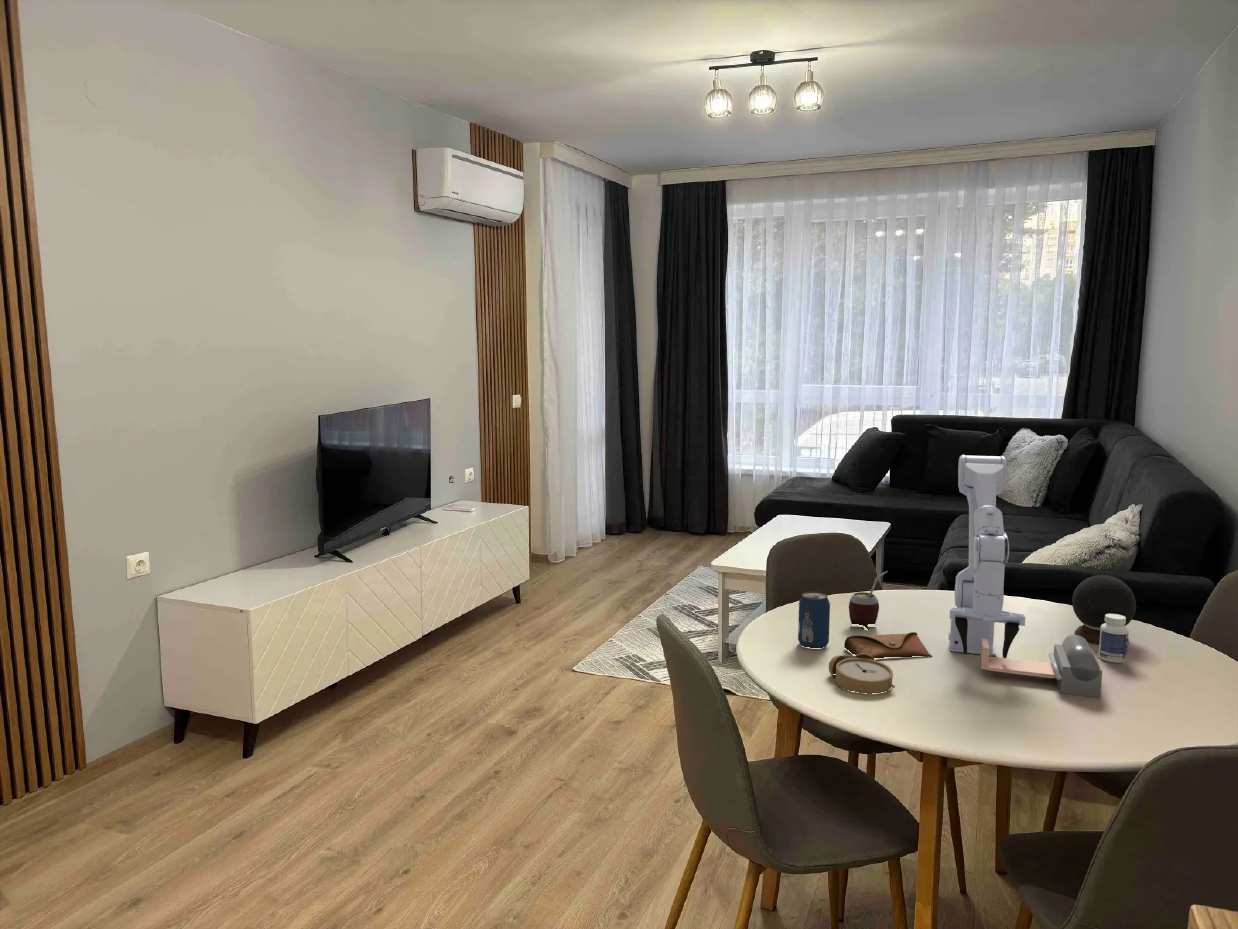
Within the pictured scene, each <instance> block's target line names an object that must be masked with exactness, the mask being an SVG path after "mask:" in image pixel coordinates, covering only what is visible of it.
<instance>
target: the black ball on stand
mask: <svg viewBox="0 0 1238 929" xmlns="http://www.w3.org/2000/svg"><path fill="white" fill-rule="evenodd" d="M1076 586H1077V587H1076V588H1075V589H1074V592H1073V594H1072V598H1071V599H1072V603H1071V604H1072V608H1073V609H1072V610H1073V612H1074V614H1075V616H1076V618H1077V619H1078V620H1079V622H1081V623H1082V625H1079V626H1077V628H1076V629H1075V630H1074V634H1073V635H1079V636H1082V637H1083V638H1085V639H1086V641H1087V642H1088V644H1093V645H1097V646H1099V643H1100V628H1101V625H1102V624H1104V623H1106V622H1105V615H1106V614H1118V615H1122V616H1124V617H1126V623H1125V625H1124V626H1126V627H1127V625H1129V624H1130V623H1131V622H1132V620H1133V618H1134V616H1135V614H1136V610H1137V601H1136V597H1135V595H1134V593H1133V591H1132V589H1131V588H1130V586H1128V585H1127V584H1126V583H1125V582H1124V581H1122V580H1121V579H1119V578H1118V577H1115V576H1111V575H1106V574H1100V575H1099V574H1098V575H1097V574H1096V575H1093V576H1090V577H1087V578H1085V579H1083V580H1082V581H1081V582H1080V583H1079V584H1078V585H1076ZM1128 642H1129V638H1128Z"/></svg>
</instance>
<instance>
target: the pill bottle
mask: <svg viewBox="0 0 1238 929" xmlns="http://www.w3.org/2000/svg"><path fill="white" fill-rule="evenodd" d="M1105 622H1106V623H1104V624H1102V625H1101V628H1100V643H1099V645H1098V658H1100V659H1101V660H1102V661H1105V662H1108V663H1109V662H1110V663H1115V664H1117V663H1118V664H1120V663H1126V662H1127V655H1128V647H1129V646H1128V644H1129V641H1128V639H1129V632H1130V631H1129V629H1128V627H1127V625H1126V626H1124V625H1125V623H1126V617H1124V616H1122V615H1118V614H1106V615H1105Z"/></svg>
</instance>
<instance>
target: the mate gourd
mask: <svg viewBox="0 0 1238 929" xmlns="http://www.w3.org/2000/svg"><path fill="white" fill-rule="evenodd" d="M887 573H888V570H886V571H884V572H882V573H880V574H879V575H877V576H876V577H875V578H874V581H873V585H872V587H871V589H870V592H863V591H861V592H860V591H859V592H855V593H853V594H852V596H851V597H850V598H849V602H848V612H849V619H850V623H851V624H859V625H863V626H865V627H866V628H868V627H867V625H868V624H875V625H876V622H877V619H878V617H879V616H878V615H879V611H880V603H879V599H878V597H877V596H876V595H875V594H874V593H873V592H874V590H875V587H876V585H877V584H878V582H879V579H880V578H882V576H884V575H885V574H887ZM851 624H850V625H851Z"/></svg>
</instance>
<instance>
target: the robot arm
mask: <svg viewBox="0 0 1238 929" xmlns="http://www.w3.org/2000/svg"><path fill="white" fill-rule="evenodd" d="M957 465H958V467H957V468H958V472H957V474H958V478H957V479H958V484H957V485H958V489H959V493H961V494H963V496H966V499H967V503H968V566H967V567H966V568H964V569H963V570H960V571H959V572H957V575H956V576H955V585H954V605H955V607H949V619H950V628H949V630H950V632H948V641H949V651H950V650H951V651H950V652H959V653H963V654H964V655H968V654H974V655H981V644H982V638H983V639H988V643H989V656H991V657H995V656H996V654H997V653H996V647H995V643H994V636H995V634H994V633H995V623H997V624H998V623H999V624H1004V630H1003V631H1004V634H1003V635H1004V636H1003V644H1002V658H1007V659H1008V654H1009V650H1010V647H1011V645H1012V643H1013V641H1014V639H1015V637H1016V636H1017V634H1019V631H1020V626H1021V627H1025V626H1026V615H1025V614H1024V613H1016V612H1011V611H1005V610H1003V606H1004V597H1005V595H1004V587H1005V586H1004V585H1005V583H1004V582H1005V569H1006V568H1005V567H1006V564H1007V563H1008V560H1009V555H1010V544H1009V542H1010V541H1009V538H1008V535H1007V532H1006V531H1005V529H1004V521H1003V520H1004V519H1003V518H1004V517H1003V512H1002V511H1001V510H1000V509H999V508H998V507H997V496H998V495H1000V494H1002V492H1003V491H1002V490H1004V487H1005V486H1004V485H1005V482H1006V479H1007V476H1008V475H1007V473H1008V472H1007V471H1008V464H1007V459H1006V457H1005V456H1004V455H1000V456H996V455H995V456H994V455H989V456H988V455H965V454H961V455H960V456H959V459H958V464H957Z"/></svg>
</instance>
